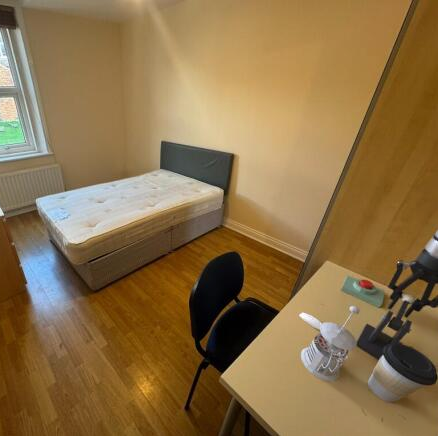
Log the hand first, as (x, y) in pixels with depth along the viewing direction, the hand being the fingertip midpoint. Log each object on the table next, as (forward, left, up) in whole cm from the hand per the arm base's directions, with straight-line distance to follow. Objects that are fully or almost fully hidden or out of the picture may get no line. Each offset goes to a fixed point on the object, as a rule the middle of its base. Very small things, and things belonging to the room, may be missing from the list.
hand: (398, 310), depth 76 cm
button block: (-5, -14, -8) cm, 17 cm away
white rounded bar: (+25, -4, -8) cm, 27 cm away
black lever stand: (+10, +6, -8) cm, 14 cm away
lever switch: (+5, +3, +3) cm, 6 cm away
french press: (+33, +9, -8) cm, 35 cm away
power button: (-5, -14, -4) cm, 16 cm away
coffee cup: (+21, +17, -8) cm, 28 cm away
